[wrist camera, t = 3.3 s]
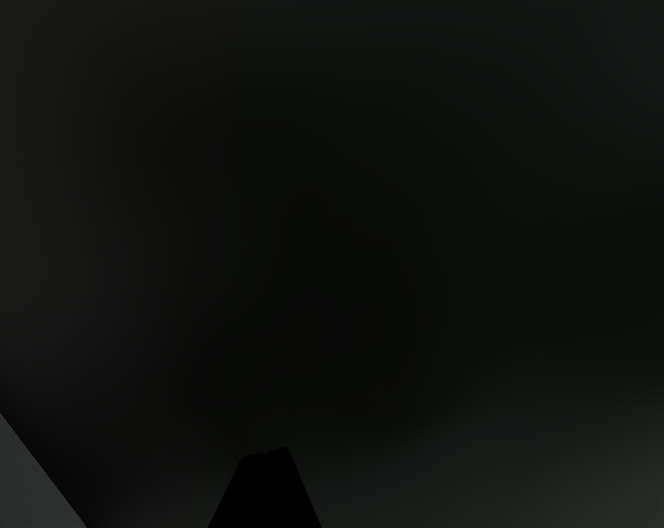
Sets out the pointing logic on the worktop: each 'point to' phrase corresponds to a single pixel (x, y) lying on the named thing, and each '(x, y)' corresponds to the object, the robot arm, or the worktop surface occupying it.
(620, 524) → the worktop surface
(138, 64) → the worktop surface
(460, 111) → the worktop surface
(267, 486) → the robot arm
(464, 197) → the worktop surface
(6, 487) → the slate board
